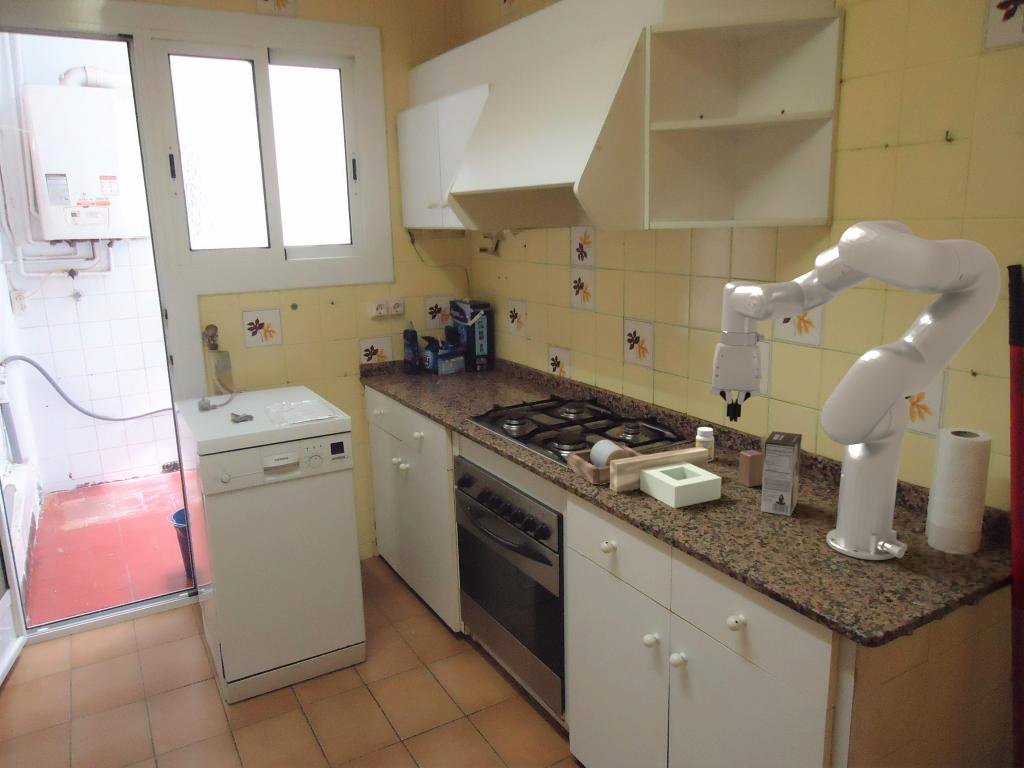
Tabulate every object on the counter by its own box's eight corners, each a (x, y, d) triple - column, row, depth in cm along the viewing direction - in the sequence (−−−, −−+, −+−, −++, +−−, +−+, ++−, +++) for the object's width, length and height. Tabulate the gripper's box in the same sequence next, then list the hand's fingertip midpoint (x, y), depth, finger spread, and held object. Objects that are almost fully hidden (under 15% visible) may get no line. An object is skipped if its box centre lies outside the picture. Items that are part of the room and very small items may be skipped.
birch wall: (707, 476, 177) (708, 449, 175) (616, 492, 167) (616, 464, 165) (699, 473, 179) (700, 446, 178) (609, 488, 170) (610, 460, 168)
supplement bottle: (699, 455, 193) (701, 425, 192) (716, 458, 190) (717, 428, 189) (691, 459, 190) (693, 429, 188) (708, 463, 187) (710, 432, 185)
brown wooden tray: (654, 475, 178) (654, 460, 177) (594, 486, 171) (594, 470, 171) (622, 458, 191) (622, 444, 191) (566, 467, 185) (566, 452, 184)
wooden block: (737, 482, 172) (739, 451, 171) (750, 480, 174) (752, 449, 172) (748, 488, 169) (750, 455, 167) (762, 485, 170) (764, 453, 169)
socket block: (720, 498, 163) (721, 477, 162) (674, 508, 157) (675, 486, 156) (684, 480, 174) (684, 461, 173) (639, 489, 169) (640, 469, 168)
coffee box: (767, 497, 163) (772, 430, 159) (797, 502, 160) (802, 433, 156) (760, 511, 155) (764, 440, 151) (791, 517, 152) (796, 444, 148)
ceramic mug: (606, 479, 176) (607, 449, 174) (589, 469, 183) (590, 440, 182) (642, 473, 180) (643, 444, 179) (623, 464, 188) (625, 436, 186)
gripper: (773, 337, 157) (766, 417, 161) (702, 335, 160) (698, 413, 164) (776, 343, 150) (770, 426, 154) (703, 340, 153) (698, 422, 157)
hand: (733, 419), depth 159 cm, fingers closed
